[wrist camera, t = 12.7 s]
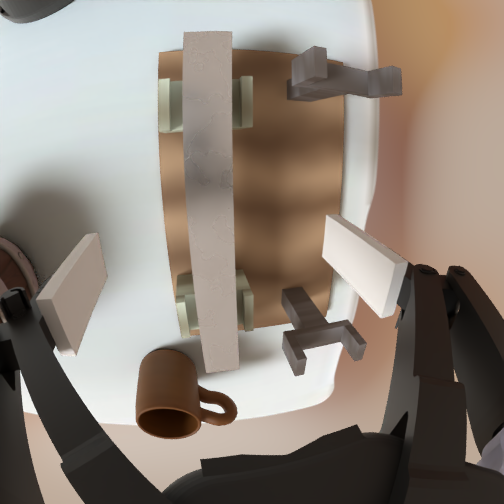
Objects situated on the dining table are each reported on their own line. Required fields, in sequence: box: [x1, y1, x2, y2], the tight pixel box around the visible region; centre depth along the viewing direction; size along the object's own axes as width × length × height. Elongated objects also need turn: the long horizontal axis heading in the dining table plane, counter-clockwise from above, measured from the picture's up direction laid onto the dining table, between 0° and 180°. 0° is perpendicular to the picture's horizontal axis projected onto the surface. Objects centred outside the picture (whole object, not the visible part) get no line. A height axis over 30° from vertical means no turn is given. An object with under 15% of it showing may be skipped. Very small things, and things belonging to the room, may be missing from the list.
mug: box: [136, 349, 237, 439], centre depth 30 cm, size 12×8×9 cm, turn 78°
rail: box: [182, 31, 239, 373], centre depth 21 cm, size 28×3×3 cm, turn 0°
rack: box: [158, 46, 402, 376], centre depth 22 cm, size 30×18×12 cm, turn 0°
